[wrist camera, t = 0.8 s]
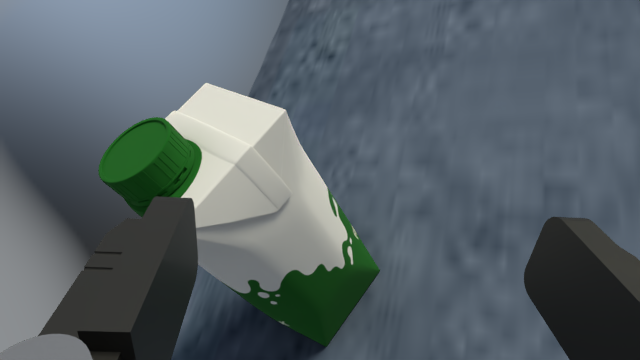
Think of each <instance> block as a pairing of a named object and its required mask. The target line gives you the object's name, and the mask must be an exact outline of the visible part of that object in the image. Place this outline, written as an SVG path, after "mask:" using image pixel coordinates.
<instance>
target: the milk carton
mask: <svg viewBox="0 0 640 360" xmlns="http://www.w3.org/2000/svg"><path fill="white" fill-rule="evenodd" d="M99 176H100V178H101V180H102V181H103V182H104V183H105V184H107V185H108V186H109V187H111V188H112V189H113V190H115V191H116V192H117V193H118V194H120V195H121V196H122V197H123V198H124V199H125V201H126V202H127V204H128V205H129V206H130V207H131V208H132V209H133V210H134V211H135V212H136V213H137V214H138V215H140V216H141V217H143V215H144V214H145V212H146V210H147V208H148V207H149V205H150V203H151V202H152V200H153V198H154V197H156V196H160V197H180V198H192V200H193V202H194V209H195V222H196V235H197V249H198V264H199V265H200V266H201V267H202V268H204V269H205V270H206V271H208V272H209V273H210V274H212V275H213V276H214V277H216V278H217V279H218V280H220V281H221V282H222V283H224V284H225V285H226V286H228V287H229V288H230V289H232V290H233V291H234V292H236V293H237V294H238V295H240V296H241V297H242V298H244V299H245V300H246V301H248V302H249V303H250V304H252V305H253V306H255V307H256V308H257V309H259V310H261V311H262V312H264V313H265V314H267V315H268V316H270V317H271V318H273V319H274V320H276V321H278V322H280V323H281V324H283V325H285V326H287V327H289V328H291V329H293V330H295V331H297V332H299V333H301V334H303V335H304V336H306V337H308V338H310V339H312V340H314V341H316V342H318V343H320V344H322V345H324V346H325V347H326V346H327V345H328V344H329V342H330V341H331V339H332V338H333V337H334V335H335V334H336V332H337V331H338V330H339V328H340V327H341V325H342V324H343V322H344V321H345V320H346V318H347V317H348V315H349V314H350V312H351V311H352V310H353V308H354V307H355V305H356V304H357V303H358V301H359V300H360V298H361V297H362V295H363V294H364V293H365V291H366V290H367V288H368V287H369V286H370V284H371V283H372V281H373V280H374V278H375V277H376V276H377V274H378V273H379V271H380V270H379V268H378V267H377V265H376V264H375V262H374V260H373V259H372V257H371V256H370V254H369V252H368V251H367V249H366V248H365V246H364V244H363V243H362V241H361V240H360V238H359V236H358V235H357V233H356V232H355V230H354V228H353V227H352V225H351V224H350V222H349V221H348V219H347V217H346V216H345V214H344V213H343V211H342V210H341V208H340V206H339V205H338V203H337V202H336V200H335V199H334V197H333V195H332V194H331V192H330V191H329V189H328V188H327V186H326V185H325V183H324V181H323V180H322V178H321V177H320V175H319V174H318V172H317V170H316V169H315V167H314V166H313V164H312V163H311V161H310V159H309V158H308V156H307V155H306V153H305V152H304V150H303V148H302V147H301V145H300V143H299V141H298V139H297V136H296V134H295V132H294V130H293V127H292V125H291V122H290V120H289V117H288V115H287V112H286V110H285V109H282V108H279V107H276V106H273V105H270V104H267V103H264V102H261V101H258V100H255V99H252V98H249V97H246V96H243V95H240V94H237V93H235V92H231V91H229V90H225V89H223V88H220V87H217V86H214V85H210V84H208V83H205V84H204V85H203V86H202V87H201V88H200V89H199V90H198V91H197V92H196V93H195V94H194V95H193V96H192V97H191V98H190V99H189V100H188V101H187V102H186V103H185V104H184V105H183V106H182V107H181V108H180V109H179V110H178V111H173V112H172V113H171V114H170V115H169V116H168V117H166V118H165V119H163V118H158V117H156V118H149V119H146V120H143V121H141V122H139V123H137V124H135V125H133V126H132V127H130V128H129V129H127V130H126V131H124V132H123V133H122V134H121V135H120V136H119V137H118V138H117V139H116V140H115V141H114V142H113V143H112V144H111V145H110V146H109V148H108V149H107V150H106V152H105V154H104V155H103V157H102V159H101V162H100V165H99Z"/></svg>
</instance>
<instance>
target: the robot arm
mask: <svg viewBox="0 0 640 360" xmlns="http://www.w3.org/2000/svg"><path fill="white" fill-rule="evenodd" d="M197 267H198V249H197V235H196V222H195V209H194V202H193V200H192V198H180V197H160V196H156V197H154V198H153V200H152V202H151V203H150V205H149V207H148V208H147V210H146V212H145V214H144V215H143V217H142V219H128V218H127V219H126V220H124V221H123V222H122V223H120V224H119V225H118V226H116V227H115V228H114V229H112V230H111V231H109V232H108V233H107V234H106V235H105V237H104V238H103V240H102V241H101V243H100V244H99V246H98V247H97V249H96V250H95V254H94V255H92V256H91V258H90V259H89V261H88V262H87V264H86V265H85V268H84V271H81V273H80V274H79V276H78V277H77V279H76V280H75V282H74V283H73V285H72V286H71V288H70V289H69V291H68V292H67V294H66V295H65V297H64V298H63V300H62V301H61V303H60V304H59V306H58V307H57V309H56V310H55V312H54V313H53V315H52V316H51V318H50V319H49V321H48V322H47V324H46V325H45V327H44V328H43V330H42V331H41V333H40V334H39V335H38V336H37V337H33V338H30V339H27V340H24V341H22V342H19V343H17V344H15V345H13V346H11V347H9V348H8V349H6V350H4V351H3V352H1V353H0V360H171V358H172V354H173V351H174V348H175V345H176V341H177V338H178V335H179V332H180V329H181V325H182V322H183V319H184V316H185V313H186V309H187V306H188V303H189V300H190V297H191V293H192V290H193V287H194V284H195V280H196V275H197ZM524 283H525V288H526V291H527V294H528V295H529V297H530V299H531V300H532V302H533V303H534V305H535V306H536V308H537V310H538V311H539V313H540V314H541V316H542V317H543V319H544V320H545V322H546V324H547V325H548V327H549V328H550V330H551V331H552V333H553V334H554V336H555V337H556V339H557V341H558V342H559V344H560V345H561V347H562V348H563V350H564V351H565V353H566V355H567V356H568V358H569V359H570V360H640V261H639V260H638V259H637V258H636V257H635V256H633V255H632V254H630V253H628V252H627V251H625V250H624V249H622V248H620V247H619V246H618V245H616V244H615V243H614V242H613V241H612V240H611V239H610V238H609V237H608V236H607V235H606V234H605V233H604V232H603V231H602V230H601V229H600V228H599V227H598V226H597V225H596V224H595V223H593V222H592V221H591V220H589V219H586V218H566V217H552V218H550V219H548V220H547V221H546V223H545V224H544V226H543V228H542V231H541V233H540V235H539V238H538V240H537V242H536V245H535V247H534V249H533V252H532V254H531V256H530V259H529V261H528V264H527V266H526V269H525V273H524Z"/></svg>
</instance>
